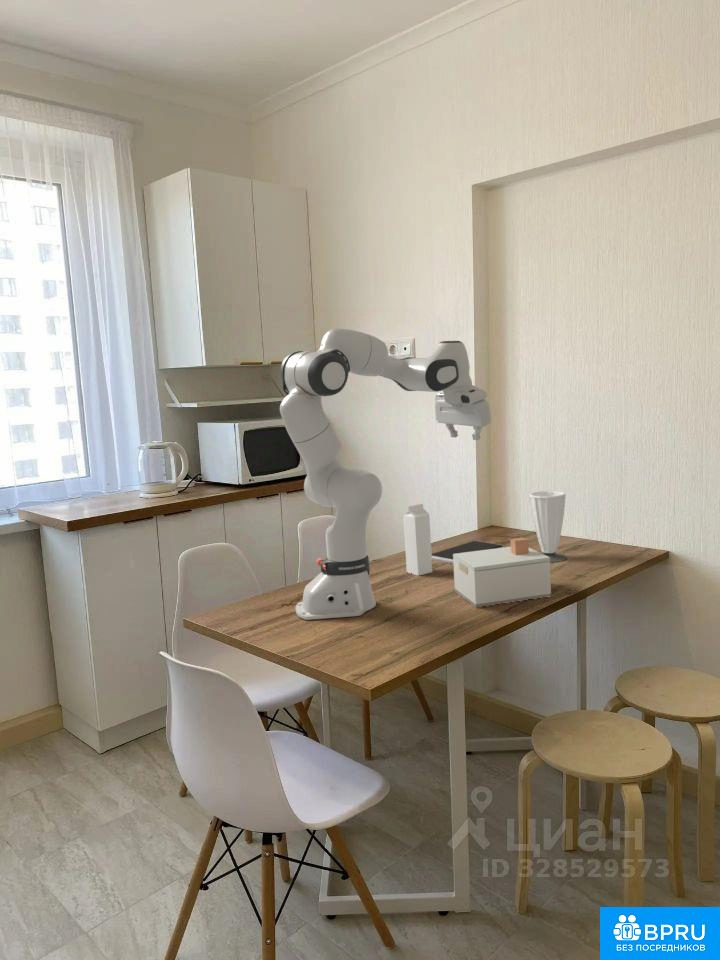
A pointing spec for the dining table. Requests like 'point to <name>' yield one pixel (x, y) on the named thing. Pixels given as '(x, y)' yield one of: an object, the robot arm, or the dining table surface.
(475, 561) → the lid
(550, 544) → the cup
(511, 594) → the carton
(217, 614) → the dining table surface
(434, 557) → the smartphone
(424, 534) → the milk
